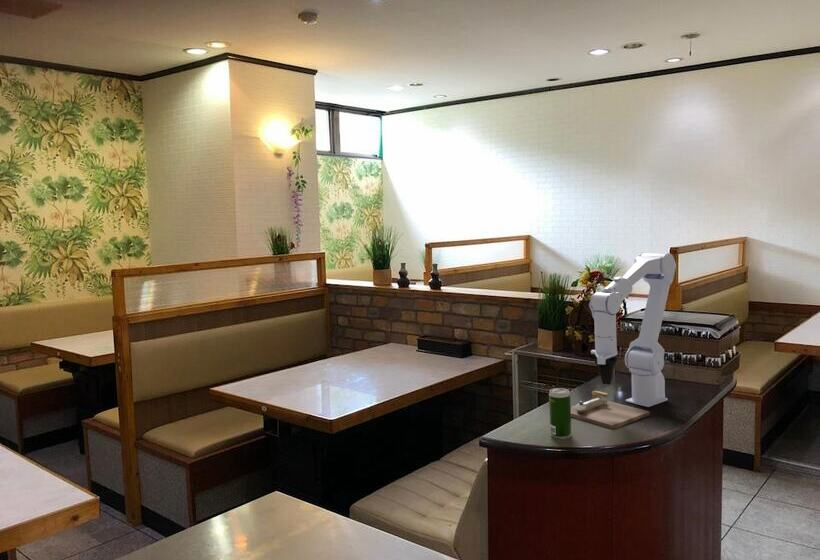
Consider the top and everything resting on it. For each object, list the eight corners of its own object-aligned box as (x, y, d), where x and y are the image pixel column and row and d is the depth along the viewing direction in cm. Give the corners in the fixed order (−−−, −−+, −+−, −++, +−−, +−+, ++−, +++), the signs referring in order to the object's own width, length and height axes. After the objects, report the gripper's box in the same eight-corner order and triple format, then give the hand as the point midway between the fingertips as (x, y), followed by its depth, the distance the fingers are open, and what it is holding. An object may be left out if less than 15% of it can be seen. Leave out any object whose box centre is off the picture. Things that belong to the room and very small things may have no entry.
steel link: (582, 413, 182) (581, 403, 181) (574, 411, 184) (574, 401, 183) (609, 403, 189) (608, 393, 189) (601, 401, 191) (601, 391, 191)
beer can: (561, 441, 166) (559, 395, 165) (546, 435, 170) (544, 390, 169) (576, 435, 169) (574, 390, 167) (560, 430, 173) (559, 386, 172)
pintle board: (597, 401, 196) (597, 386, 195) (649, 415, 181) (649, 399, 180) (560, 413, 187) (560, 398, 186) (612, 429, 172) (611, 412, 171)
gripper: (595, 329, 188) (597, 375, 189) (585, 340, 175) (586, 389, 177) (621, 330, 185) (622, 377, 186) (612, 341, 172) (613, 391, 173)
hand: (606, 383), depth 181 cm, fingers closed
